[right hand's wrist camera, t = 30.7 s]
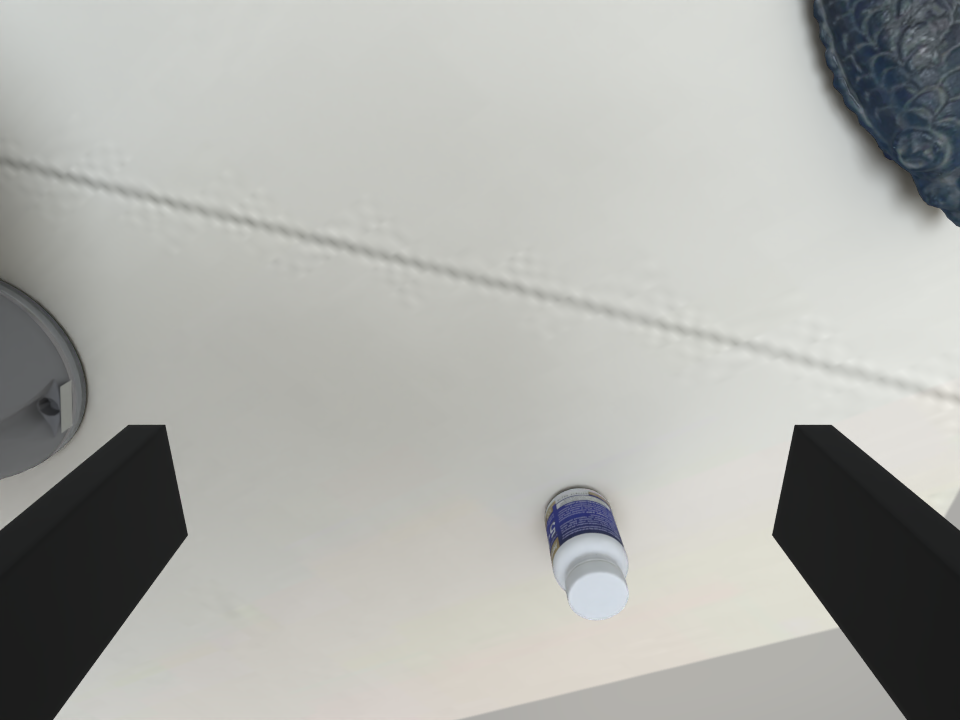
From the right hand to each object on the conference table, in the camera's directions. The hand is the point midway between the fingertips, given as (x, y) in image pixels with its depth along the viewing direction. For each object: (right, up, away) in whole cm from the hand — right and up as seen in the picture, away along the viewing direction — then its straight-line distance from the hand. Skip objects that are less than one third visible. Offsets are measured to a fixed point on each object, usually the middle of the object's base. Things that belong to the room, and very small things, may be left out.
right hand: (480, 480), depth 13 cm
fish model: (+24, +20, +23) cm, 39 cm away
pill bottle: (+8, -10, +35) cm, 37 cm away
